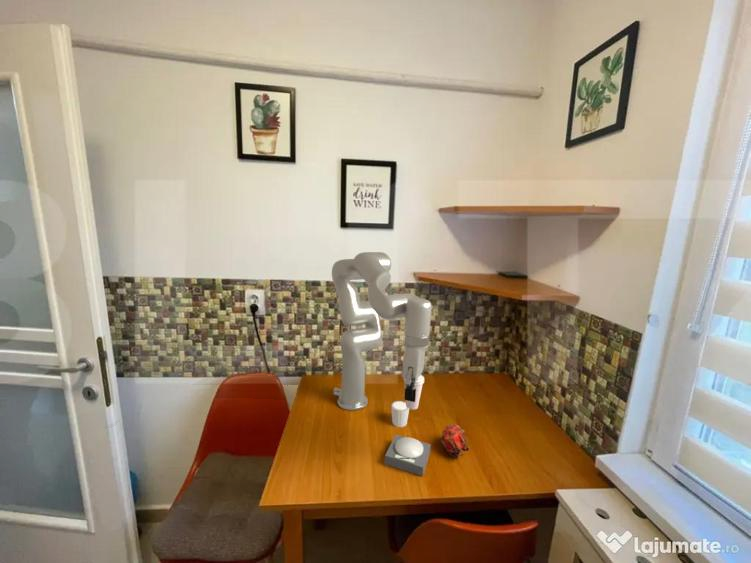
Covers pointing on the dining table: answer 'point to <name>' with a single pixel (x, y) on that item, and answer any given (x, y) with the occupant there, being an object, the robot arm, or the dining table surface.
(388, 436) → the dining table surface
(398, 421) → the white cup
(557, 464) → the dining table surface
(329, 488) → the dining table surface
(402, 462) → the scale
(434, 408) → the dining table surface
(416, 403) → the smoothie
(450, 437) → the dragon fruit
